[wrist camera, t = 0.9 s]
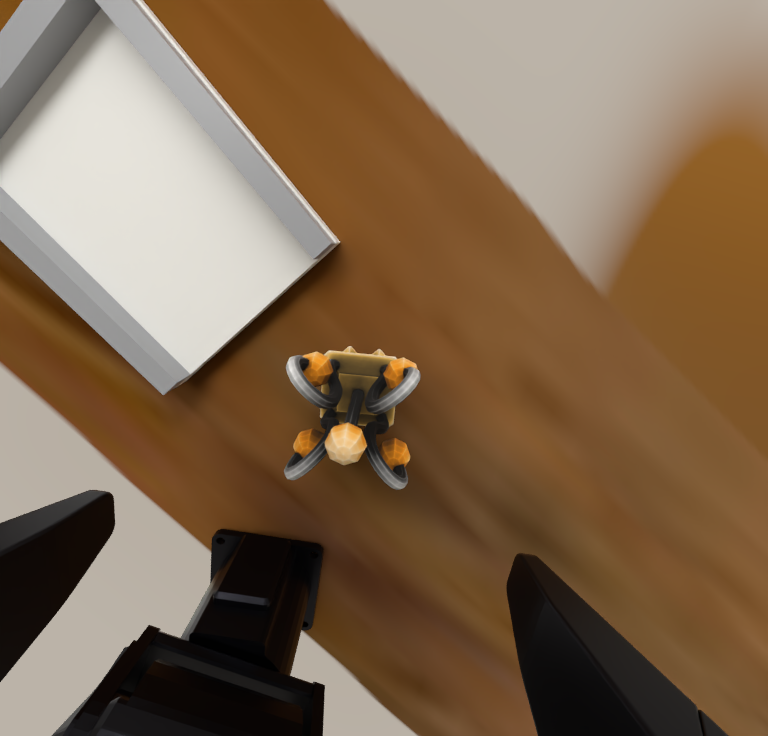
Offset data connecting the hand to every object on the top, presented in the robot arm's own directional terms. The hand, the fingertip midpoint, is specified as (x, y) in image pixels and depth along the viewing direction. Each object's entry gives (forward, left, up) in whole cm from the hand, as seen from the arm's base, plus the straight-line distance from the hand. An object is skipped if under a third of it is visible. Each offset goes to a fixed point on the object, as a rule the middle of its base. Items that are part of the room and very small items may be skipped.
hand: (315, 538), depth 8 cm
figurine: (0, 0, -12) cm, 12 cm away
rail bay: (+6, +10, -12) cm, 17 cm away
